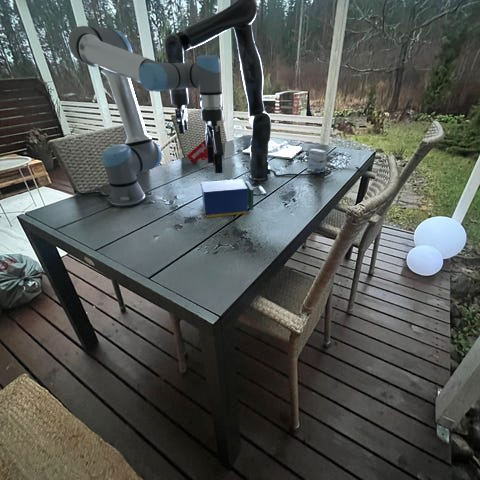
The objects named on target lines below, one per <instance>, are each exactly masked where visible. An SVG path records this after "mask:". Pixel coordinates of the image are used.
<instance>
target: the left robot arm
mask: <svg viewBox="0 0 480 480" xmlns="http://www.w3.org/2000/svg"><path fill="white" fill-rule="evenodd" d="M67 40H68V41H67V42H68V43H67V44H68V48H69V50H70V52H71V54H72V55H73V57H74V58H75V59H76V60H77V61H79V62H80V63H82V64H84V65H87V66H89V67H93V68H97V67H99V70H100V73H102V74H103V75H104V76H105V77H106V78H107V81H108V84H109V87H110V90H111V93H112V96H113V99H114V102H115V105H116V108H117V111H118V114H119V117H120V120H121V123H122V126H123V129H124V131H125V135H126V137H127V138H126V140H125V144H118V145H113V146H110V147H108V148H105V149H104V150H103V152H102V153H101V158H102V159H101V160H102V164H103V166H104V169H105V173H106V177H107V180H108V184H109V193H108V194H105V193H104V192H103V191H100V190H94V191H89V192H81V191H80V190H78V189H76V188H75V189H74V190H73V193H77V194H79V195H82V196H87V195H88V196H89V195H93V194H101V196H102V197H106V198H107V197H109V204H110V205H111V206H113V207H115V208H130V207H135V206H137V205H140V204H141V203H143V202H144V201H145V200H146V194H145V192H144V190H143V189H142V187H141V185H140V184H139V181H138V177H137V175H139V174H140V173H144V172H145V171H149V170H153V169H154V168H156V167H158V166H159V165H160V164H161V162H162V158H163V156H162V155H163V154H162V149H161V147H160V145H158V143H157V142H155V141H153V137H152V136H151V135H148V133H147V130H146V126H145V123H144V120H143V117H142V113H141V110H140V106H139V103H138V100H137V97H136V94H135V90H134V87H133V84H132V80H133V81H135V82H137V83H140V84H141V85H142V86H143V87H144V89H145V90H147V91H148V92H158V93H159V92H165V91H170V90H173V89H184V88H187V89H198V91H199V92H198V93H199V97H198V102H199V103H200V107H201V109H200V116H201V118H200V119H201V121H203V122H204V123H205V139H204V140H205V143H206V145H207V164H213V163H215V165H214V174H223V172H224V171H223V156H224V149H223V148H224V147H223V142H222V135H221V126H220V125H218V122H221V121H223V109H222V107H223V95H222V70H221V60H220V59H221V58H220V57H219V56H218V55H216V54H215V55H213V54H211V55H209V54H207V55H206V54H204V55H197V57H196V62H184V63H167V62H160V61H156V60H153V59H151V58H148V57H145V56H142V55H140V54H137V53H135V52H133V49H132V46H131V44H130V41H129V39H128V38H127V36H126V35H125V34H123V33H122V31H119V30H117V29H113V28H110V27H106V28H105V27H95V26H88V25H79V26H76V27H74V28H73V29H72V30H71V31H70V33H69V34H68V38H67ZM214 153H215V154H214Z"/></svg>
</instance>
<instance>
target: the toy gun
mask: <svg viewBox="0 0 480 480" xmlns="http://www.w3.org/2000/svg"><path fill="white" fill-rule="evenodd" d="M214 154H215V153H214ZM186 157H187V159H188V160H189V161H190V162H191V163H192V164H194V163H197V162H198V161H199V160H200V159H201V160H202V161H205V160H208V158H207V145H206V143H205V139H204V140H203V141H201V143H199V144H198V145H196V147H195V148H194V149H193V150H191V151H190V152H189V153H188V154H187V155H186ZM212 165H213V166H215V163H212Z"/></svg>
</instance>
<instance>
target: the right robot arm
mask: <svg viewBox="0 0 480 480" xmlns="http://www.w3.org/2000/svg"><path fill="white" fill-rule="evenodd" d="M257 13H258V7H257V3H256V1H255V0H234V1H233V3H231V5H229V6H228V7H226V8H224V9H222V10H221V11H219V12H217V13H215V14H213V15H210V16H207V17H205V18H203V19H200V20H199V21H196V22H194V23H192V24H190V25H188V26H187V27H185V28H184V29H182V30H180V31H178V32H176V33H170V34H168V35H167V36H166V37H165V39H164V41H163V48H164V51H165V55H166V56H165V57H166V63H185V61H184V59H185V57H184V53H185V52H187V51H189V50H190V49H194V48H196V47H198V46H201V45H203V44H205V43H206V42H208V41H211V40H212V39H214V38H216V37H218V36H219V35H221V34H223V33H225V32H227V31H229V30H231V29H233V30H234V34H235V35H234V36H235V39H236V44H237V50H238V58H239V62H240V63H239V65H240V71H241V77H242V82H243V88H244V92H245V95H246V100H247V104H248V119H249V120H248V121H249V125H250V127H251V129H252V133H251V139H250V146H251V148H250V154H249V157H250V158H249V160H250V161H249V165H250V166H249V167H250V168H249V171H248V173H249V178H250V180H253V181H256V182H257V181H265V180H268V179H269V175H271V172H272V173H273V175H274V177H285V176H298V177H301V176H302V177H303V176H304V177H305V176H315V175H321V174H323V173H324V174H325V173H328V172H331V171H334V170H337V169H336V168H335V167H332V168H333V169H331V168H329V169H330V170H328V169H326V170H327V171H325V170H324V172H320V173H316V172H313V173H314V174H310V173H283V174H277V172H276V171H274V170H273V169H271V166H270V165H269V156H268V145H269V140H270V139H271V134H272V133H271V132H272V119H271V115H270V114H268V113H267V112H266V110H265V105H264V100H263V90H264V73H263V66H262V60H261V57H260V54H259V52H258V48H257V46H256V43H255V39H254V33H253V25H252V23H253V22H254V21H255V19H256V16H257ZM169 94H170V101H171V105H173V106H176V108H175V109H174V112H175V119H176V120H175V121H176V124H177V126H178V133H179V134H180V135H184V134H185V132H186V131H188V130H189V128H188V118H189V117H188V111H187V109H188V108H187V105H189V104H190V103H189V102H190V101H189V91H188V88H184V89H173V90H169ZM355 169H357V170H360V167H358V166H357V167H355Z"/></svg>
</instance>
